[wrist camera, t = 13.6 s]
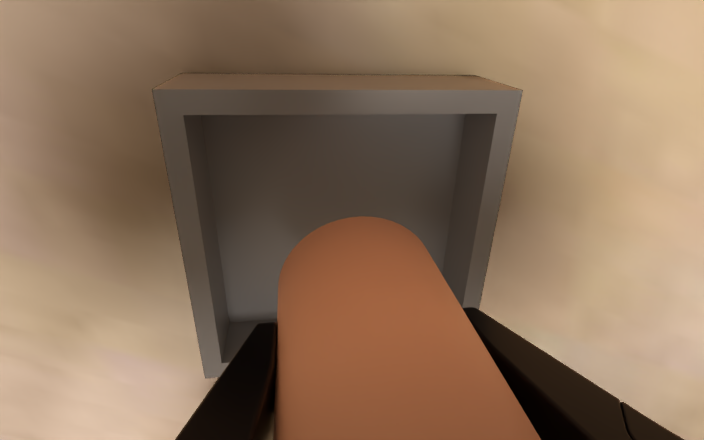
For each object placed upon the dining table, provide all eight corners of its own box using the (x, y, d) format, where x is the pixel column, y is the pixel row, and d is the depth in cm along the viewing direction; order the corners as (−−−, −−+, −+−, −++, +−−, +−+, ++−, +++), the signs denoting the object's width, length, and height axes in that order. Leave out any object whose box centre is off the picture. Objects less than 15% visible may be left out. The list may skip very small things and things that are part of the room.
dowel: (424, 340, 12) (582, 710, 5) (282, 352, 11) (276, 777, 5) (442, 212, 10) (702, 543, 4) (273, 219, 9) (247, 622, 3)
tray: (441, 302, 17) (469, 354, 15) (218, 319, 16) (205, 378, 14) (475, 75, 13) (522, 90, 11) (181, 73, 12) (152, 89, 10)
